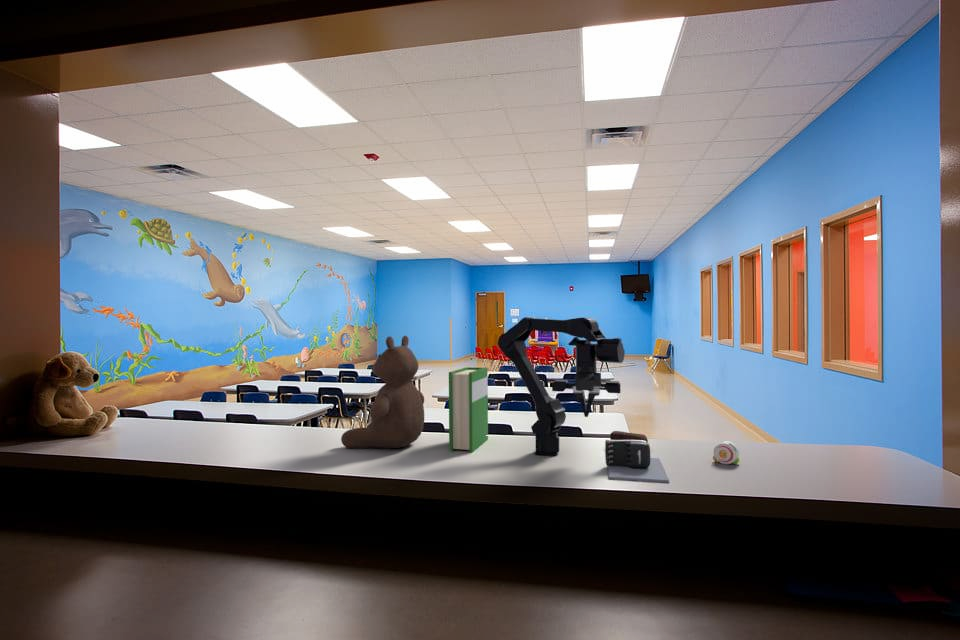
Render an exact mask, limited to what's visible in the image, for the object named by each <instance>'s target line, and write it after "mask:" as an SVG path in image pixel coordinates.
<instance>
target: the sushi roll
mask: <svg viewBox="0 0 960 640" xmlns="http://www.w3.org/2000/svg"><path fill="white" fill-rule="evenodd" d="M739 450H740V449H739V448H738V446H737V445H736V444H735V443H733V442H731V441H729V440H723V441H721V442H719V443H718V444H716V445H715V446H714V448H713V456H712V460H713V461H714V462H716V463H720V464H722V465H731V464H734V465H736V464H738V463H739V462H740V459H739V456H740V451H739Z"/></svg>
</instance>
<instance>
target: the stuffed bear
mask: <svg viewBox="0 0 960 640" xmlns="http://www.w3.org/2000/svg"><path fill="white" fill-rule="evenodd" d="M409 341H410V340H409V336H407V335H403V336H402V338H401V345H397V346H395V342H394V339H393V337H392V336H391V335H390V336H387V337H386V339H385V345H386V347H387V349H385V350H384V351H383V352H382V353H380V354H378V356H377V359H376V360H375V362H374V363H373V364H371V365H370V367H371V368H370V369H371V372H372V373H373V375H375V376H377V378H379V379H380V380H382V381H383V382H384V384H383V385H382V386H381V387H380V388H379V389H378V391H377V394H376V397H375V399H374V401H373V402H372V404H371V406H370V408H369V415H370V420H371V421H370V423H369V424H368V425H367V426H366V427H357V428H356V427H355V428H351V429H348V430H346V431H344V433H342V435H341V439H340V441H341V444H342V445H343V446H344V447H345V448H347V449H349V448H350V449H362V448H363V449H366V448H368V449H369V448H370V449H372V448H373V449H374V448H378V449H379V448H380V449H381V448H382V449H399V448H403V447H406V446H409V445H410V444H412V443H414V442H416V441H417V440H418V439H419V437H420V436H421V435H422V433H423V430H424V426H425V425H424V424H425V408H424V403H425V396H424V394H423V393H422V392H421V391H420V390H419V389H418V388H417V386H416V385H414V384H413V383H412V382H411V381H412V379H414V377H415V376H416V375H417V372H418V370H419V362H418V361H419V360H418V359H417V357H416V356H415V354H414V352H413V351H412V350H411V348H409V347H408V346H409Z"/></svg>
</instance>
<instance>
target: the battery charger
mask: <svg viewBox="0 0 960 640" xmlns="http://www.w3.org/2000/svg"><path fill="white" fill-rule="evenodd" d="M604 449H605V450H604V456H605V457H604V458H605V459H604V460H605V465H606V466H607V467H608V466H627V467H630V468H638V469H644V468H648V467H649V466H650V458H651V447H650V443H649V441H648V442H646V441H643V440H610V439H605V443H604Z"/></svg>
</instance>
